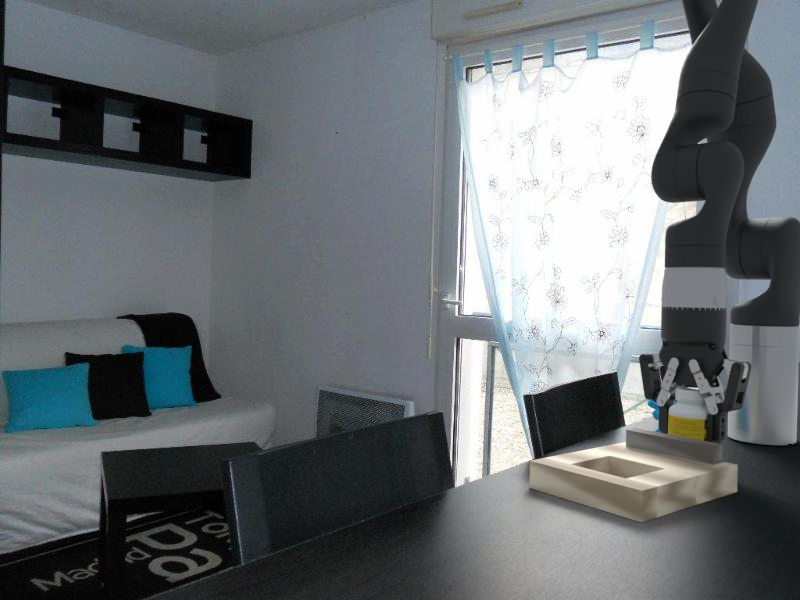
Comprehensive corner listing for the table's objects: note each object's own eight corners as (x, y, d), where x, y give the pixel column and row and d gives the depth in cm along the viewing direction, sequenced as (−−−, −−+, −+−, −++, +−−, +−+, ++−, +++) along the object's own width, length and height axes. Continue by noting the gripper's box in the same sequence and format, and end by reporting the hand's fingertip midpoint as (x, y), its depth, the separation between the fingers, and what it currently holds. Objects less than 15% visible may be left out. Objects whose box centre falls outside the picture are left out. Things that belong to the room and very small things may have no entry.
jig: (626, 465, 88) (627, 425, 88) (737, 491, 77) (738, 446, 77) (529, 487, 77) (530, 442, 77) (641, 522, 66) (642, 469, 66)
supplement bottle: (710, 475, 84) (712, 393, 84) (662, 468, 87) (664, 389, 87) (716, 466, 89) (718, 388, 89) (671, 459, 92) (673, 384, 92)
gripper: (766, 306, 84) (763, 447, 84) (658, 303, 96) (656, 427, 96) (735, 306, 80) (731, 455, 80) (625, 303, 91) (623, 433, 91)
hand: (690, 439), depth 88 cm, fingers closed on supplement bottle, 5 cm apart
